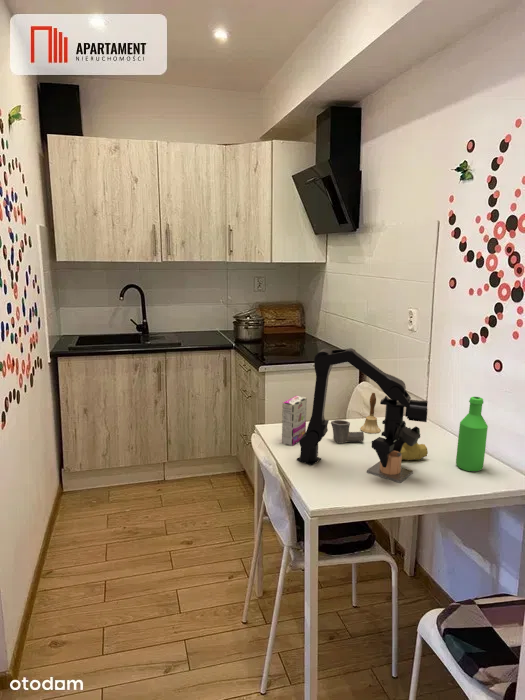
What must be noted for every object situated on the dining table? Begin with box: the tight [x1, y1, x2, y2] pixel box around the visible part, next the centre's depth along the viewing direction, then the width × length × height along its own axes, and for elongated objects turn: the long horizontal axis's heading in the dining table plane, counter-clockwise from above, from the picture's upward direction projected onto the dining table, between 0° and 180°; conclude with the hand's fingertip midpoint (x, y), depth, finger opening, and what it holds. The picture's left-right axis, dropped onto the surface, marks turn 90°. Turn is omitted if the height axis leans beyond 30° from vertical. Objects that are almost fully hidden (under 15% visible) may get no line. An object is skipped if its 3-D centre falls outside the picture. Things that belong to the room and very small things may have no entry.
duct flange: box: [366, 460, 414, 484], centre depth 172 cm, size 10×12×6 cm
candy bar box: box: [281, 395, 307, 447], centre depth 197 cm, size 11×5×16 cm, turn 148°
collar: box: [379, 450, 402, 475], centre depth 171 cm, size 6×6×7 cm
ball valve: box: [400, 442, 429, 461], centre depth 185 cm, size 13×10×10 cm
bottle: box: [455, 396, 489, 472], centre depth 176 cm, size 9×9×25 cm
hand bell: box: [359, 392, 382, 434], centre depth 211 cm, size 8×8×16 cm
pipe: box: [330, 419, 365, 444], centre depth 198 cm, size 6×13×8 cm, turn 89°
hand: (390, 462), depth 172 cm, fingers open, 9 cm apart
